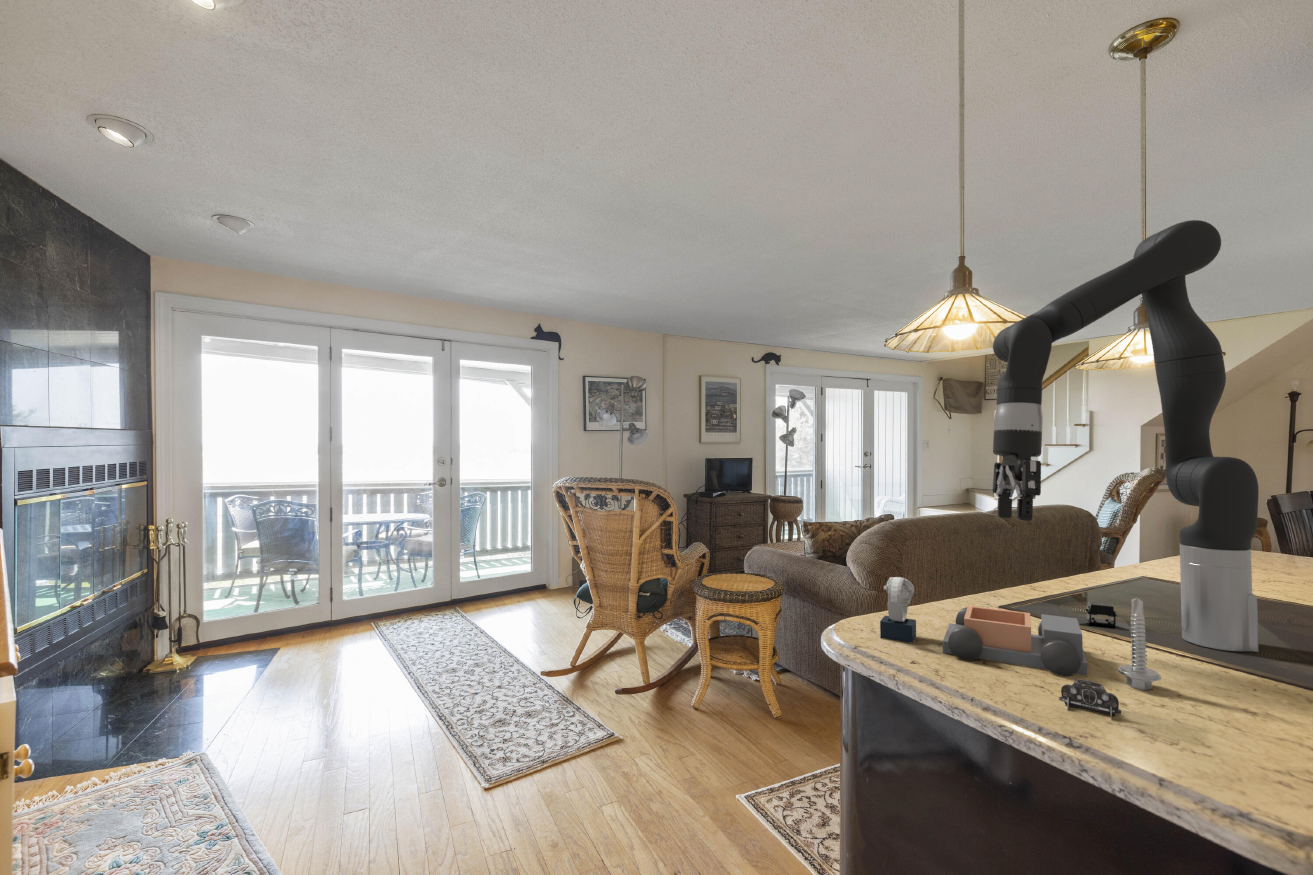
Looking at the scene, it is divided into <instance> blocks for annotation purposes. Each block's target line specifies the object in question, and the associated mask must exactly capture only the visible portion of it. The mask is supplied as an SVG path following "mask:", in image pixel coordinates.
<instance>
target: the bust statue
mask: <svg viewBox="0 0 1313 875" xmlns="http://www.w3.org/2000/svg"><path fill="white" fill-rule="evenodd" d="M883 590H886V592H887V594H888V595H887V599H888V600H887V602H886V603H887V615H884V616H883V617H882V618H881V619H880V621H879V633H880V634H879V636H880V639H883V640H889V641H890V640H891V641H896V642H901V643H909V644H913V643H914V641H915V640H916V638H917V620H916V619H912V618H907V614H908V605H910V604H911V601H912V598H913V596H914V593H915V587H914V585H913V583H912V582H911V581H910V580H909V579H906V578H905V577H900V576H893V577H891V576H890V577H889V578H888V580H887V582H886V585H884V586H883Z"/></svg>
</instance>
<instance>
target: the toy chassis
mask: <svg viewBox="0 0 1313 875" xmlns="http://www.w3.org/2000/svg"><path fill="white" fill-rule="evenodd" d="M1040 615H1041V621H1040V622H1039V623H1038V626H1037V632H1038V633H1037V634H1033V633H1032V625H1031V624H1032V621H1031V612H1024V611H1023V612H1022V611H1016V610H1006V609H1000V608H991V607H983V606H982V607H981V606H974V605H967V606H966V607H964V608H961V609H960V610H959V611H958V612H957V614H956V617H955V623H952V622H951V623H950V622H949V624H948V627H947V630H946V632H945V634H944V637H943V640H942V653H943V654H946V655H947V654H948V655H954V656H955V657H957V658H958V659H960V660H962V661H974V660H976V659H980V660H984V661H991V662H998V663H1005V664H1010V665H1016V666H1017V665H1018V666H1022V667H1023V666H1024V667H1027V668H1028V667H1029V668H1036V669H1041V670H1047V671H1049V673H1052V674H1053V675H1056V676H1060V677H1070V676H1073V675H1079V676H1085V677H1088V676H1089V670H1088V669H1089V668H1088V661H1087V656H1086V654H1085V651H1084V648H1083V645H1084V643H1083V642H1084V641H1083V632H1082V629H1081V625H1079V623H1078V621H1077V618H1078V617H1068V616H1061V615H1059V616H1058V615H1050V614H1043V613H1042V614H1040Z"/></svg>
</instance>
